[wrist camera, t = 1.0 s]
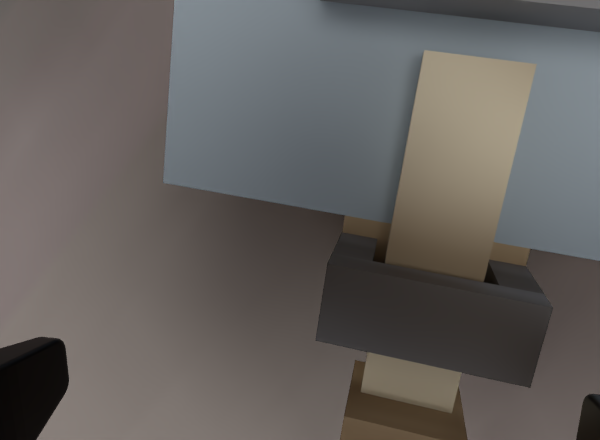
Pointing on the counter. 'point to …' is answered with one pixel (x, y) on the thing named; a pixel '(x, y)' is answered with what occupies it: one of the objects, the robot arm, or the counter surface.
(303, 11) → the lid
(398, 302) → the toolbox
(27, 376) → the robot arm
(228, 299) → the counter surface
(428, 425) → the beige long block
